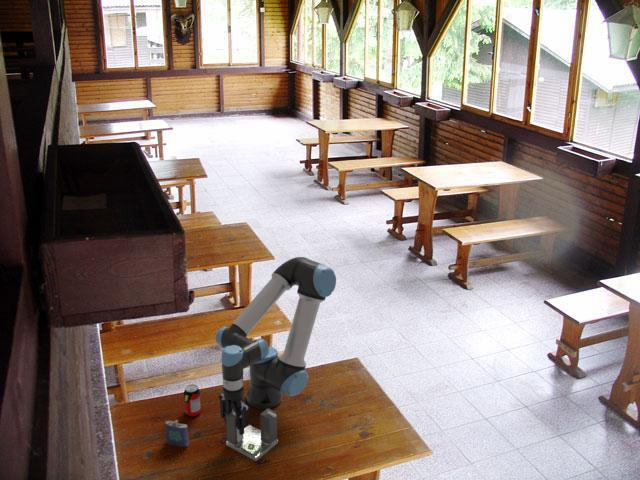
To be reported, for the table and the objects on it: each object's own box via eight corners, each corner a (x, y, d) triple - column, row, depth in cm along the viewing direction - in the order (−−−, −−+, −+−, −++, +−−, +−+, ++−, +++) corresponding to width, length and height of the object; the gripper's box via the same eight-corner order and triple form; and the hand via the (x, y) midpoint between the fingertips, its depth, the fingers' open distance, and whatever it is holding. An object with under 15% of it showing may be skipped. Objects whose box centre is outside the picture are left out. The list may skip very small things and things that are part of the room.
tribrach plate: (225, 445, 244) (224, 438, 243) (248, 426, 254) (248, 420, 253) (256, 462, 236) (255, 455, 235) (279, 442, 246) (279, 435, 245)
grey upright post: (227, 440, 243) (225, 413, 239) (235, 434, 247) (233, 407, 242) (238, 446, 240) (237, 418, 236) (245, 440, 244) (245, 413, 239)
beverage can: (199, 406, 266) (198, 382, 261) (202, 415, 260) (200, 391, 256) (184, 409, 264) (182, 385, 260) (186, 418, 258) (184, 393, 254)
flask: (190, 443, 245) (188, 420, 241) (186, 448, 242) (184, 425, 238) (168, 439, 247) (166, 416, 243) (164, 443, 244) (162, 420, 240)
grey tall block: (260, 440, 244) (260, 412, 240) (268, 434, 248) (267, 406, 243) (272, 446, 241) (271, 418, 237) (279, 439, 245) (279, 412, 240)
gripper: (208, 382, 237) (211, 433, 245) (244, 399, 227) (245, 452, 236) (222, 373, 242) (225, 423, 251) (258, 389, 233) (259, 441, 242)
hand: (235, 437), depth 244 cm, fingers closed on grey upright post, 4 cm apart
